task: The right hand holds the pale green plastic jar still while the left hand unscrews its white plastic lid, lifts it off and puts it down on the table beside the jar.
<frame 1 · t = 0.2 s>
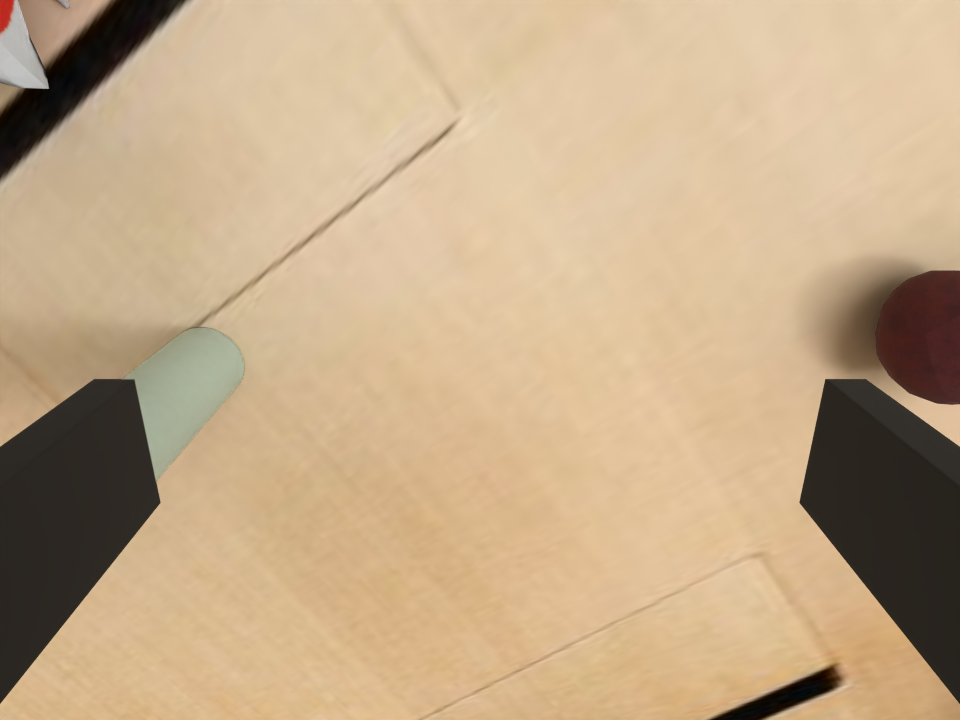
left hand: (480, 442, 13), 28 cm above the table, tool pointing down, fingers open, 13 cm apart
dark red ball: (908, 315, 41), on the table
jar: (206, 362, 42), on the table
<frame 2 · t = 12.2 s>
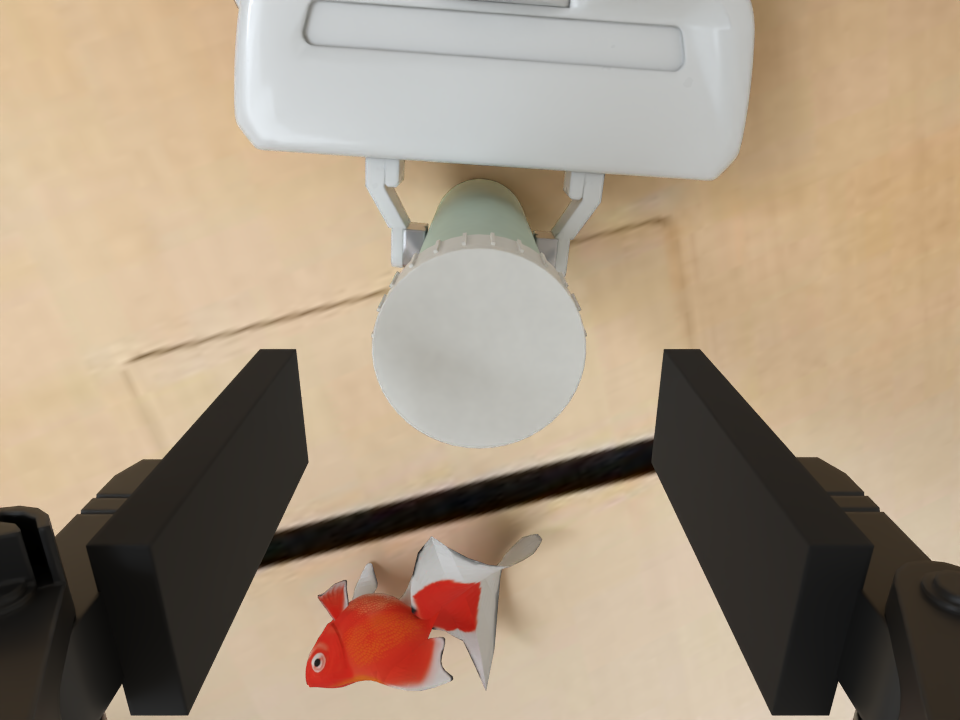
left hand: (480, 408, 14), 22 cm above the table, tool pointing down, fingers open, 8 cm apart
right hand: (479, 270, 29), fingers closed on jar, 5 cm apart
lid: (479, 349, 17), point 19 cm above the table, screwed on, not yet turned
fish: (430, 560, 43), on the table
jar: (479, 225, 35), on the table, touching right hand
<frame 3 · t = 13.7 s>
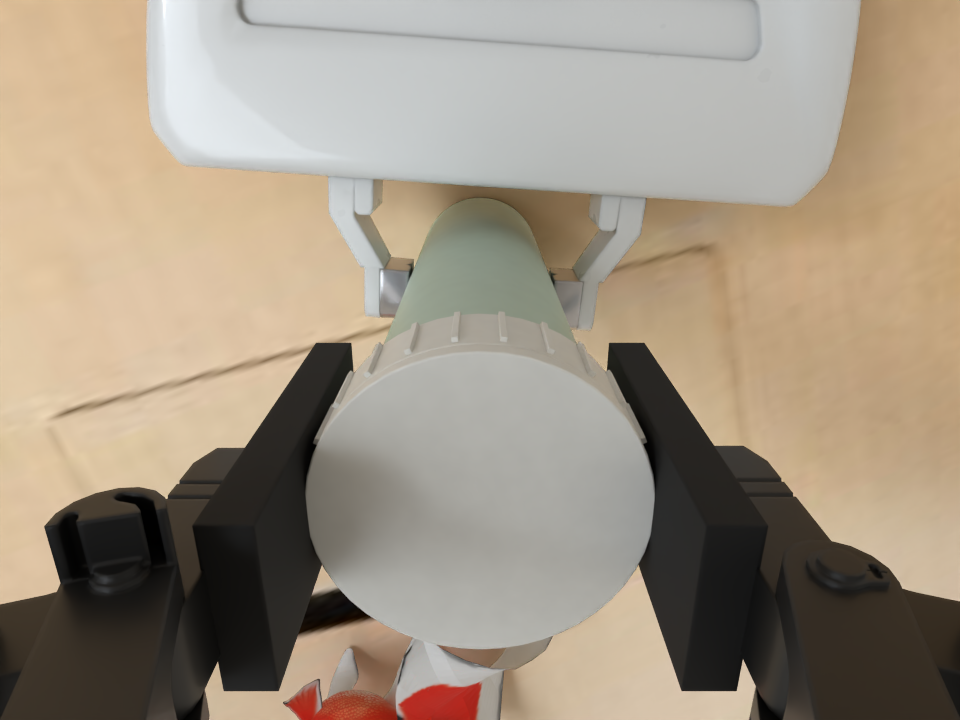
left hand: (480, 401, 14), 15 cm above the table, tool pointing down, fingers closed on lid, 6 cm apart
right hand: (479, 319, 23), fingers closed on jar, 5 cm apart
lid: (480, 503, 11), point 19 cm above the table, screwed on, not yet turned, touching left hand
fish: (421, 645, 36), on the table
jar: (480, 254, 28), on the table, touching right hand
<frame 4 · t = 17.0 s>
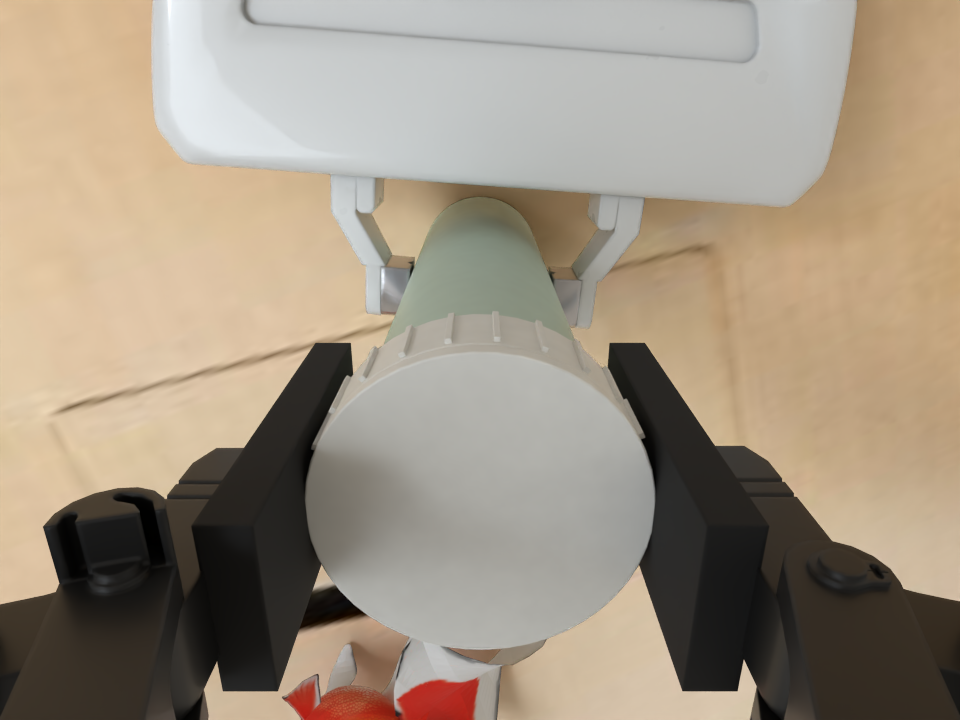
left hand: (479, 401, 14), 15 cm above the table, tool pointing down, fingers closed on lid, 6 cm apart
right hand: (479, 317, 23), fingers closed on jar, 5 cm apart
lid: (480, 503, 11), point 19 cm above the table, turned 107° so far, risen 0.3 cm, still on its thread, touching left hand
fish: (419, 641, 37), on the table
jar: (480, 253, 29), on the table, touching right hand
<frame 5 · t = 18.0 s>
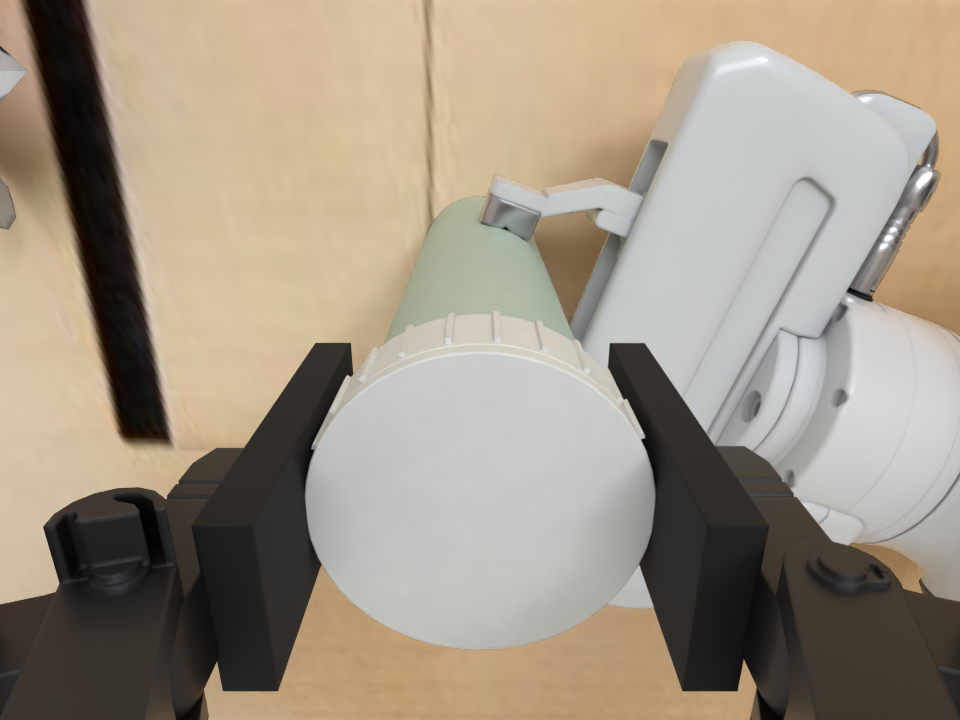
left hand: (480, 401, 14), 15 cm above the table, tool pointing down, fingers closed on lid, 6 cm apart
right hand: (455, 283, 23), fingers closed on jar, 5 cm apart
lid: (480, 503, 11), point 19 cm above the table, off its thread, touching left hand
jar: (480, 252, 29), on the table, touching right hand
when the left hand's fingers open (0 cm above the table, at t = 24.9 s): lid drops 3 cm, point 2 cm above the table.
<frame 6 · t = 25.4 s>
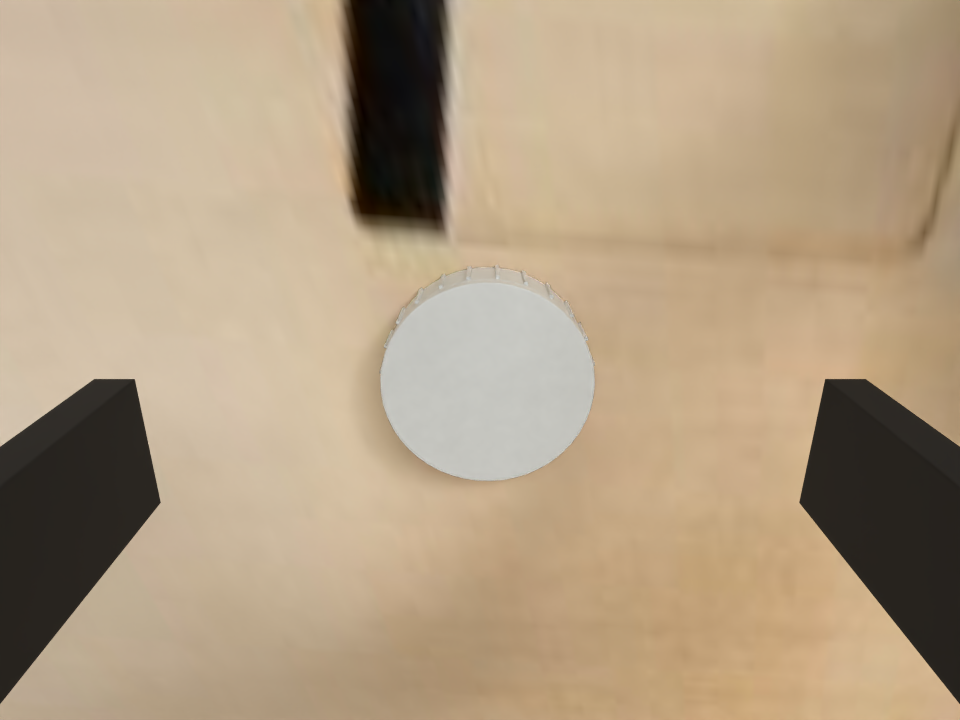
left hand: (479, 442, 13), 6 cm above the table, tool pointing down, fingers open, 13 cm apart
lid: (487, 382, 17), point 2 cm above the table, off its thread
when the right hand's fingers open (6 cm above the table, at t = 25.7 s): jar stays where it is, on the table.
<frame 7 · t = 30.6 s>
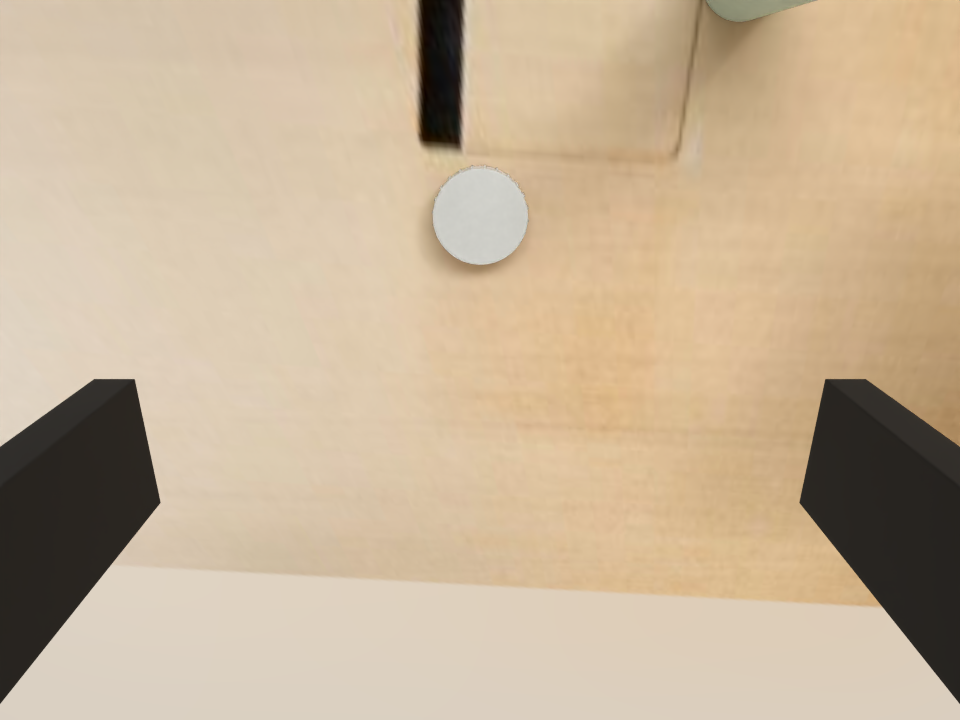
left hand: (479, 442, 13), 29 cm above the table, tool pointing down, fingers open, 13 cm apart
lid: (480, 217, 39), point 2 cm above the table, off its thread
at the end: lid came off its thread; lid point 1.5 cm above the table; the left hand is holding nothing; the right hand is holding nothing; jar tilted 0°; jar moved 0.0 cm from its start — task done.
